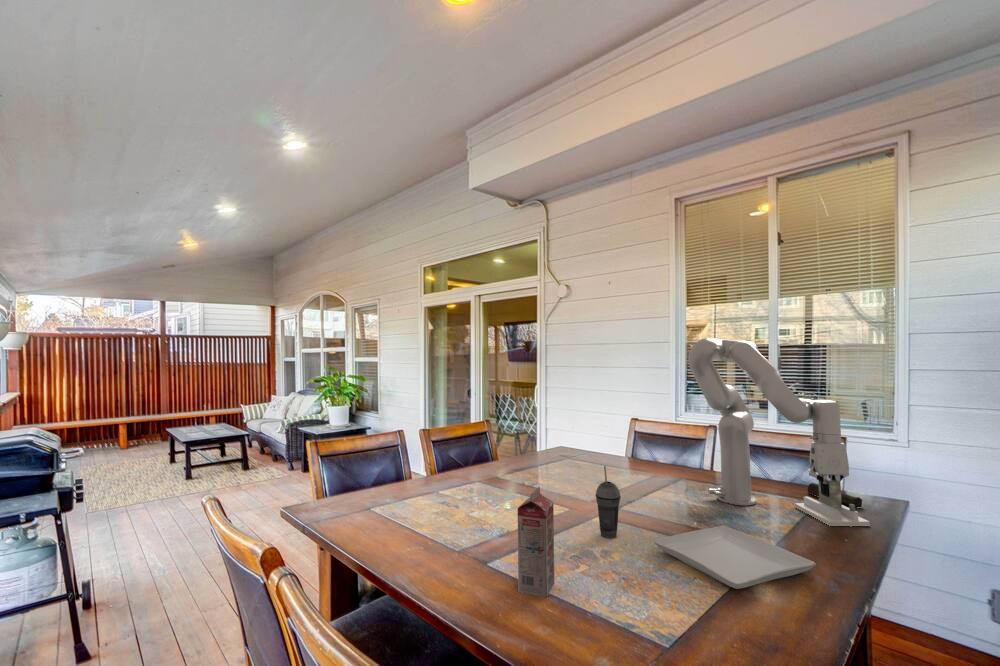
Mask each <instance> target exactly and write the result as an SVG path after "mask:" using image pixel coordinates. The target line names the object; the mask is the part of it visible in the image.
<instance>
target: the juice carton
mask: <svg viewBox="0 0 1000 666" xmlns="http://www.w3.org/2000/svg"><path fill="white" fill-rule="evenodd" d="M540 487H541V486H538V487H537V488H536V489H535V490H534V491H533V492H532V493H531V494H530V497H528V498H527V499H526V500H524V502H523V503H522V504H521V505H519V506H518V507H517V592H518V593H521V594H525V595H526V594H527V595H533V596H539V597H543V598H547V597H548V596H549V594H550V593H551V590H552V589H553V586H554V584H555V529H554V525H555V524H554V523H555V522H554V520H555V519H554V517H555V516H554V501H552V500H551V499H549V498H548V497H546V496H544V495H543V494H541V490H540V489H541V488H540Z"/></svg>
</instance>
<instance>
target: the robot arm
mask: <svg viewBox="0 0 1000 666" xmlns="http://www.w3.org/2000/svg"><path fill="white" fill-rule="evenodd" d="M714 361H717V362H728V363H735V365H736V366H738V368H739V369H741V371H742V372H743V373H744V374H745V375H746V376H747V377H748V378H749V379H750V380H751V381H752V382H753V384H755V385H756V387H757V388H758V390H759V391H760V392H761V393H762V394H763V396H764V397H765V398H766V400H767V401H768V402H769V403H770V404H771V405H772V407H774V408H775V409H776V411H777V412H778V413H779V414H780V415H782V417H783V418H785V419H786V420H787V421H789V422H790V423H794V424H801V423H804V422H806V421H810V420H811V421H812V434H810V435H809V439H810V440H813V441H811V444H810V451H809V469H810V470H809V472H808V476H811V477H812V478H815V479H816V480H818V481H817V482H818V483H819V482H820V486H821V494H822V495H824V496H827V497H829V484H827V478H828V476H830V479H832V480H835V481H838V482H840V483H841V481H842V480H843V479H844V478H847V477H849V476H850V473H849V472H850V466H849V464H850V463H849V457H848V452H847V449H846V445H845V443H844V442H842V432H841V431H842V430H841V411H840V410H841V409H840V408H841V407H840V404H839V402H837V401H835V400H830V399H828V400H827V399H825V400H824V399H818V400H814V399H807V398H799V397H798V396H797V395H796V394H795V393H794V392H793V391H792V390H791V389H790V388H789V387H788V386H787V384H786V383H785V382H784V380H783V378H782V376H781V374H780V372H779V371H778V369H777V368H776V367H775V366H774V365H773V364H772V363H771V362H770V361H769V360H768V359H767V358H766V357H765V356H764V355H762V354H761V352H760V350H759V348H758V346H757V345H756V344H755V343H754V342H752V341H749V340H731V339H723V338H722V339H721V338H711V337H707V338H706V337H703V338H702V339H699V340H697V342H695V343H694V344H693V346H692V347H691V348H690V350H689V352H688V366H689V369H690V371H691V373H692V375H693V377H694V379H695V381H696V383H697V385H698V387H699V388H700V391H701V392H702V395H703V396H704V398H705V400H706V402H707V404H708V406H709V407H710V408H711V409H713V410H714V411H717V412H719V413H720V414H721V418H720V420H719V422H718V426H717V427H718V435H719V447H720V448H719V449H720V469H721V470H720V472H721V474H720V475H721V480H720V481H721V485H718V487H716V488H708V489H707V492H708V495H714V496H716V497H717V500H718V501H720V502H723V503H725V504H728V503H729V505H733V504H734V505H735V506H752V505H756V504H757V499H756V498H755V496H753V495H752V479H751V473H752V472H751V455H750V454H751V453H750V452H751V451H750V450H751V449H750V440H749V434H750V433H751V432H752V431H753V429H754V425H755V424H754V423H755V422H754V421H755V420H754V418H753V416H752V414H751V412H750V411H749V409H748V407H747V406H746V403H745V402H744V400H743V398H742V396H741V394H740V393H739V391H738V390H737V389H736V388H735V387H734V386H732V385H730V384H726V383H725V381H724V379H723V378H722V376H721V374H720V372H719V370H718V369H717V368H716V366H715V364H714Z"/></svg>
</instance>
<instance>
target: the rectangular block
mask: <svg viewBox="0 0 1000 666" xmlns="http://www.w3.org/2000/svg"><path fill="white" fill-rule="evenodd" d="M827 484H829V497H827V496H824V495H822V494H821V486H820V482H819V481H818V485H819V498H818V501H819V502H822V503H824V504H826V505H828V506H830V507H833V508H842V505H843V504H842V503H841V493H842V490H841V489H842V488H841V487H842V486H841V481H840V482H838V481H835V480H832V479H831V477H827Z"/></svg>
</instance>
